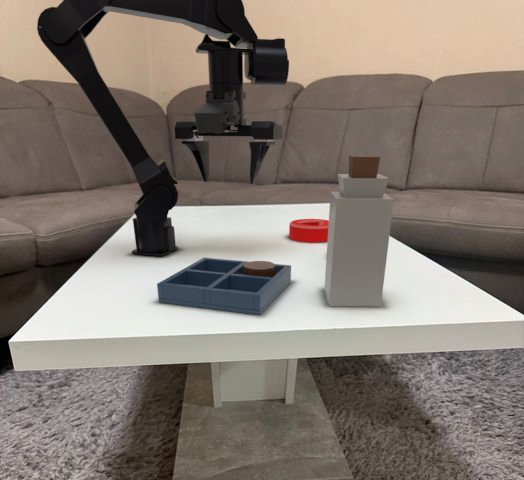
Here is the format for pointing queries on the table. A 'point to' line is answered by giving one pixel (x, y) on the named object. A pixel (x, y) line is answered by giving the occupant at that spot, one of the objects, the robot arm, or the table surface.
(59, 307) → the table surface
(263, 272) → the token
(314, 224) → the red ring
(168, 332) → the table surface
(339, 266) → the perfume bottle
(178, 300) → the holder
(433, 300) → the table surface
